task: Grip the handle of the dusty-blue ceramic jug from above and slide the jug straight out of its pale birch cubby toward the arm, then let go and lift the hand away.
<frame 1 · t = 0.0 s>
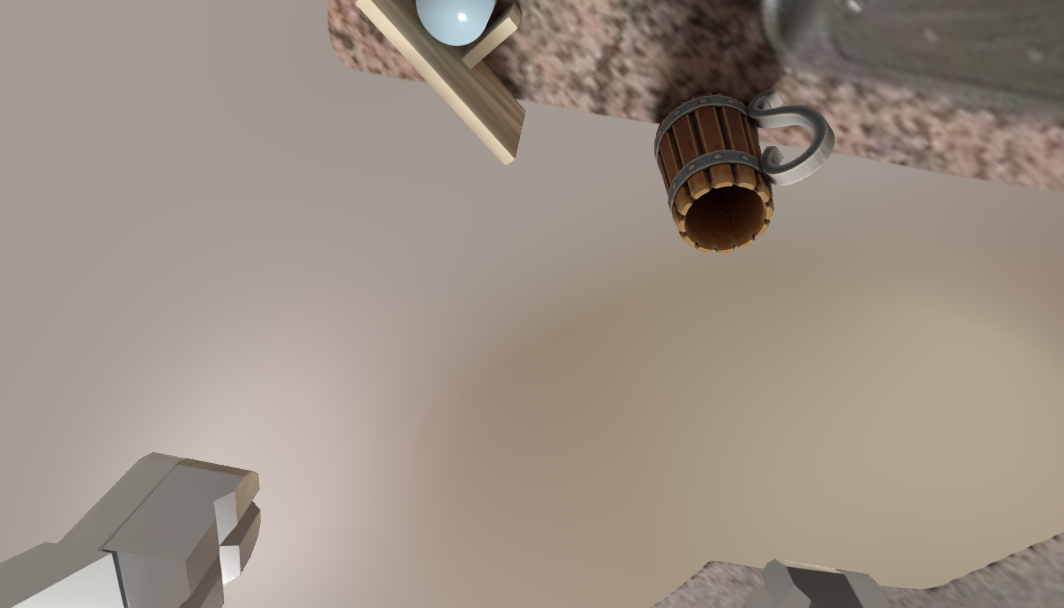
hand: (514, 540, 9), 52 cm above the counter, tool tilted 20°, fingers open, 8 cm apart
mug: (723, 121, 57), on the counter
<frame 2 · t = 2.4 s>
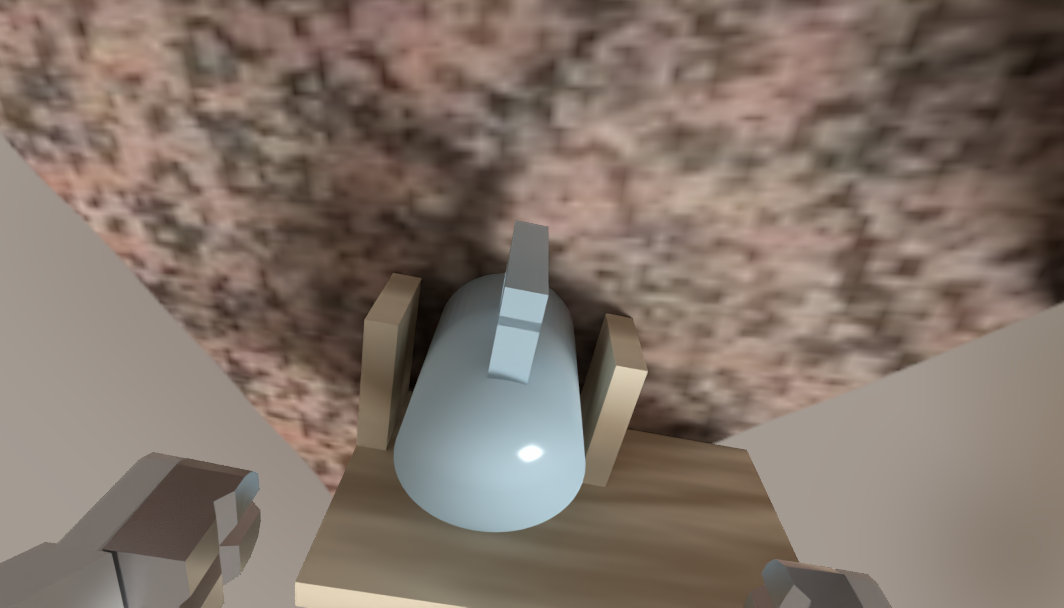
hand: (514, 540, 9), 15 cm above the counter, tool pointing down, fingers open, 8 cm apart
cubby: (500, 364, 25), on the counter
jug: (506, 334, 24), on the counter
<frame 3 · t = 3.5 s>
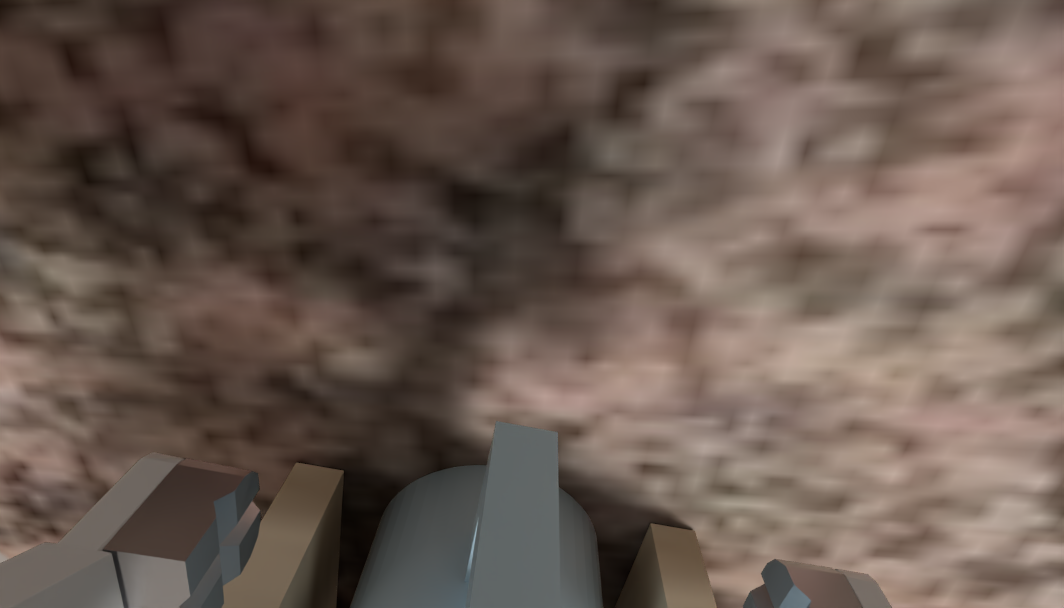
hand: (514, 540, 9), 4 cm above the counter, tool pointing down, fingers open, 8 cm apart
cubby: (478, 587, 15), on the counter
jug: (487, 548, 15), on the counter
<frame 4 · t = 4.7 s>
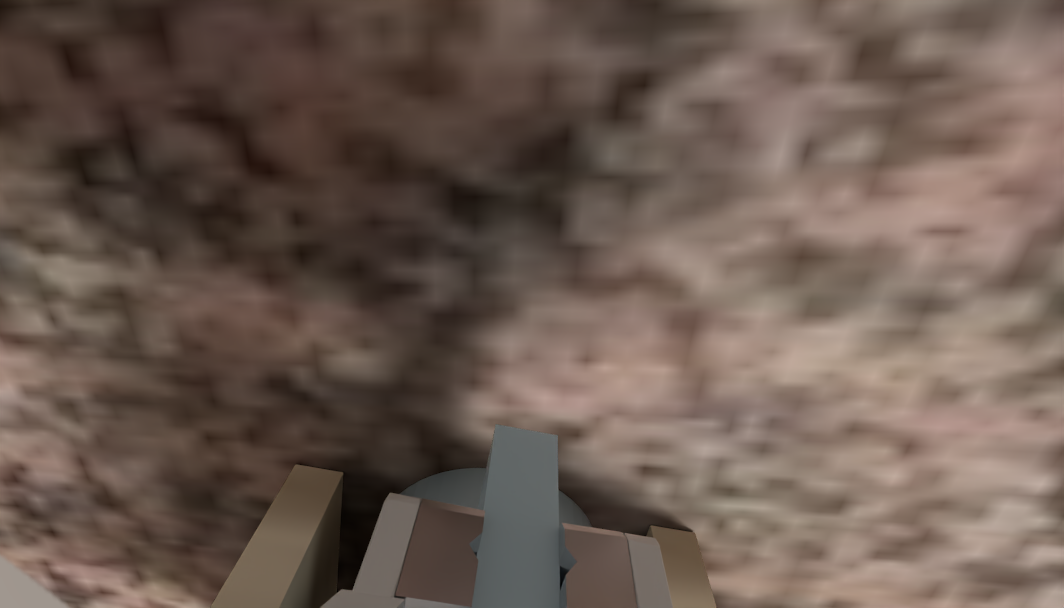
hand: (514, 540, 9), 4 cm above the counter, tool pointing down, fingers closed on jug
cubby: (478, 589, 15), on the counter
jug: (487, 551, 15), on the counter, touching gripper
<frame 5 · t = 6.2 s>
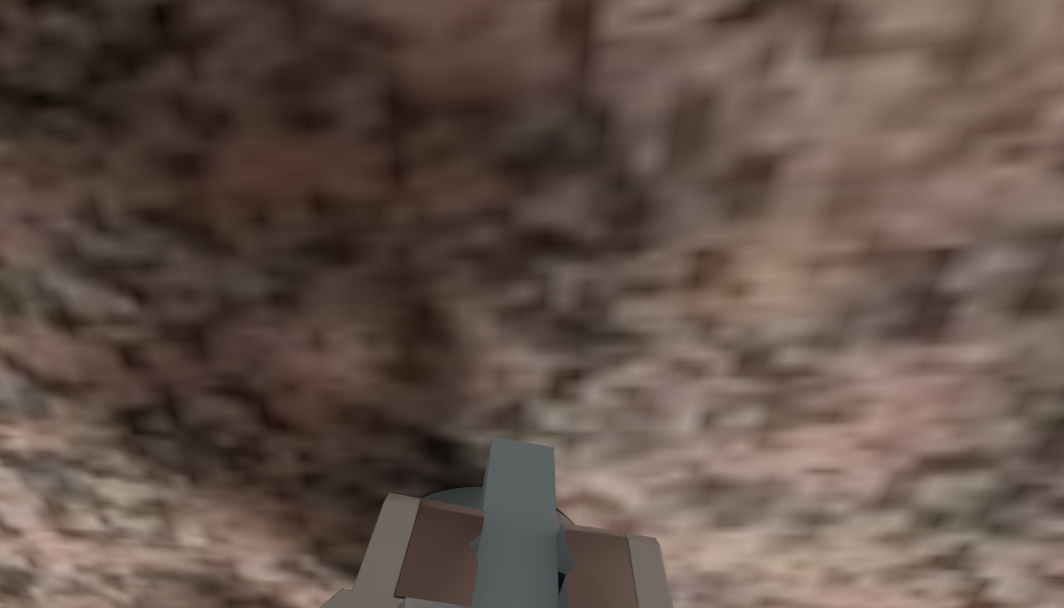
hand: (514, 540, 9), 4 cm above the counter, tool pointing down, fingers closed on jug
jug: (483, 574, 15), on the counter, touching gripper
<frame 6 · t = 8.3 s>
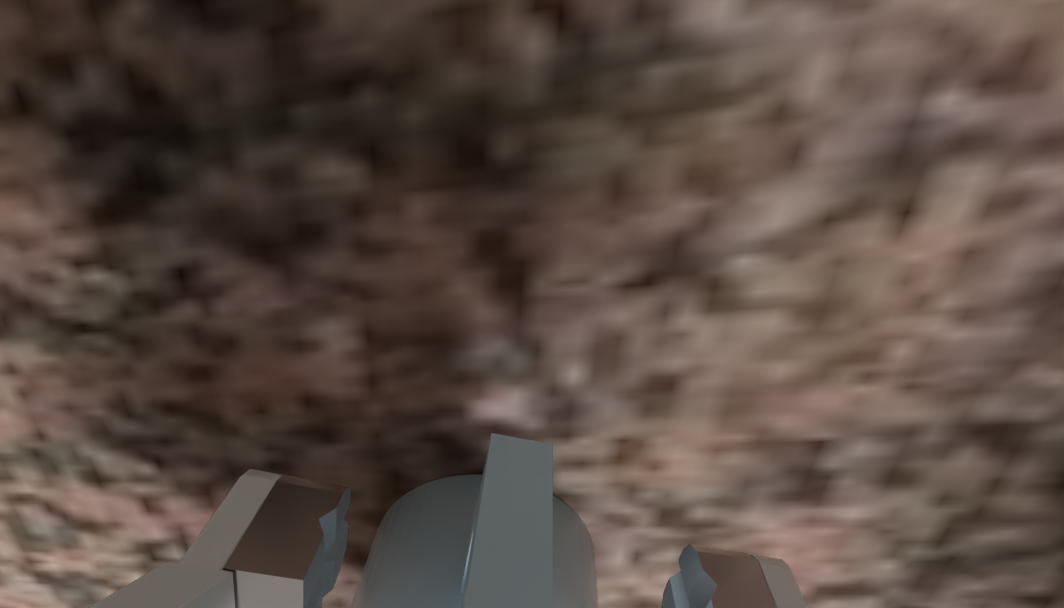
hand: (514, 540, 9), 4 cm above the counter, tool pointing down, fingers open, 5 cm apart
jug: (484, 556, 15), on the counter
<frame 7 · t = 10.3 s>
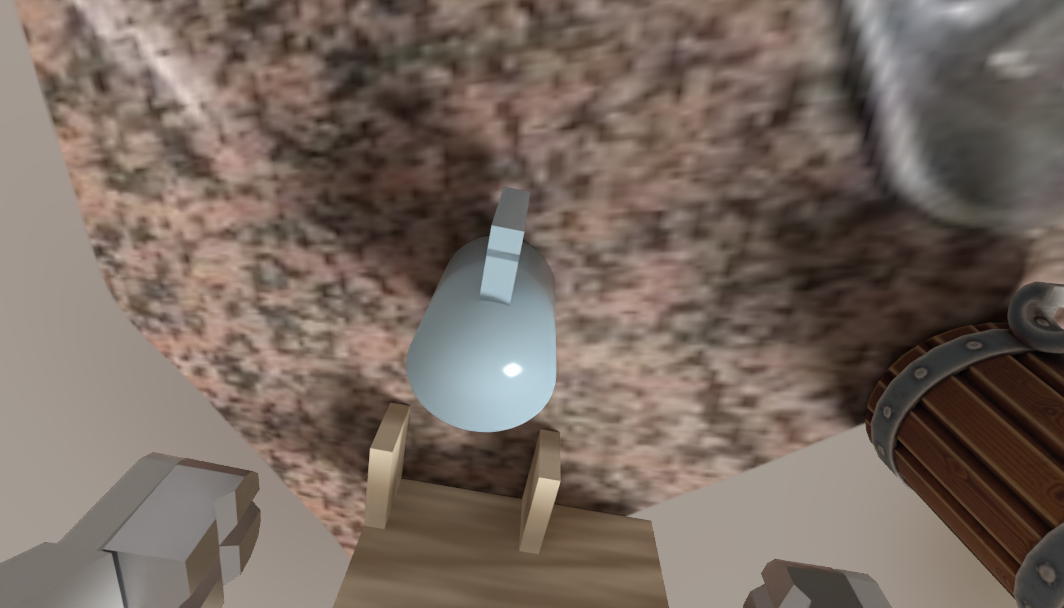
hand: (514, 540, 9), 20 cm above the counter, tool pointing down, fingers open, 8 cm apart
mug: (973, 358, 30), on the counter
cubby: (467, 461, 34), on the counter
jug: (498, 288, 29), on the counter
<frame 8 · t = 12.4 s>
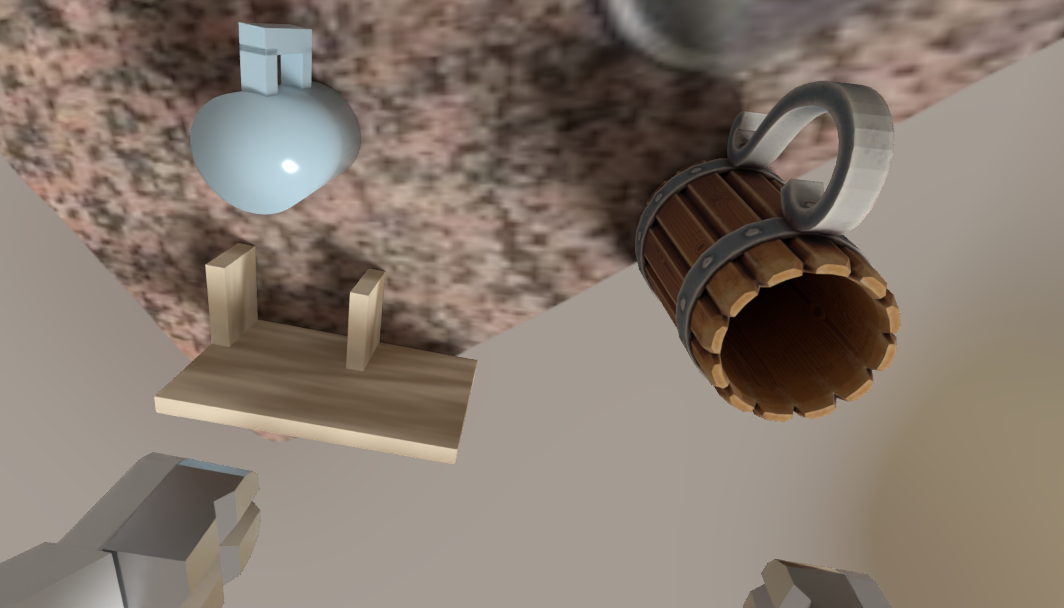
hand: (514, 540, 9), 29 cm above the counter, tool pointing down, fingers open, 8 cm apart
mug: (719, 196, 35), on the counter
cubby: (311, 301, 40), on the counter
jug: (313, 131, 34), on the counter
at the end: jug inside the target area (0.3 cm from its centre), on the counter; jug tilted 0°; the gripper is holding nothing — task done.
